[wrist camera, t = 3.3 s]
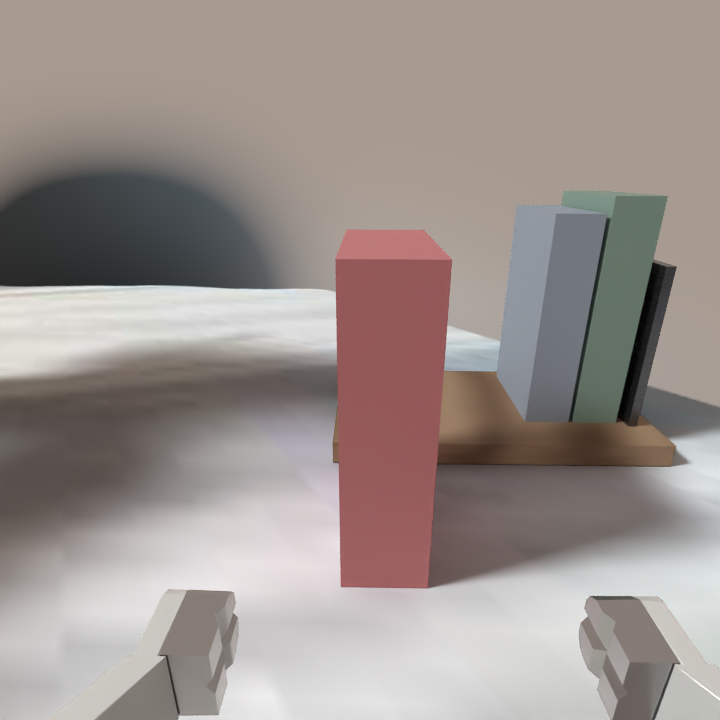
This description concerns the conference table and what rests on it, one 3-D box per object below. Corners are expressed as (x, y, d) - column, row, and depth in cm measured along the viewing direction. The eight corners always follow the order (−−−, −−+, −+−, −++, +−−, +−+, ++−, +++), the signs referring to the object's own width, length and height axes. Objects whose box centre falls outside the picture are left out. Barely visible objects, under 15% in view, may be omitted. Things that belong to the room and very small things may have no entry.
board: (333, 462, 31) (332, 442, 31) (342, 385, 42) (342, 370, 42) (670, 466, 31) (676, 446, 30) (590, 388, 42) (593, 372, 41)
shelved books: (525, 421, 33) (559, 195, 28) (496, 376, 41) (518, 190, 35) (615, 422, 33) (667, 196, 28) (570, 376, 40) (604, 191, 35)
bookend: (628, 426, 33) (666, 266, 29) (575, 374, 41) (598, 245, 37) (636, 426, 33) (676, 266, 28) (582, 374, 41) (606, 245, 37)
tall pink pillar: (340, 586, 22) (335, 258, 16) (348, 471, 30) (346, 229, 25) (427, 588, 22) (451, 259, 16) (411, 472, 30) (423, 229, 25)
